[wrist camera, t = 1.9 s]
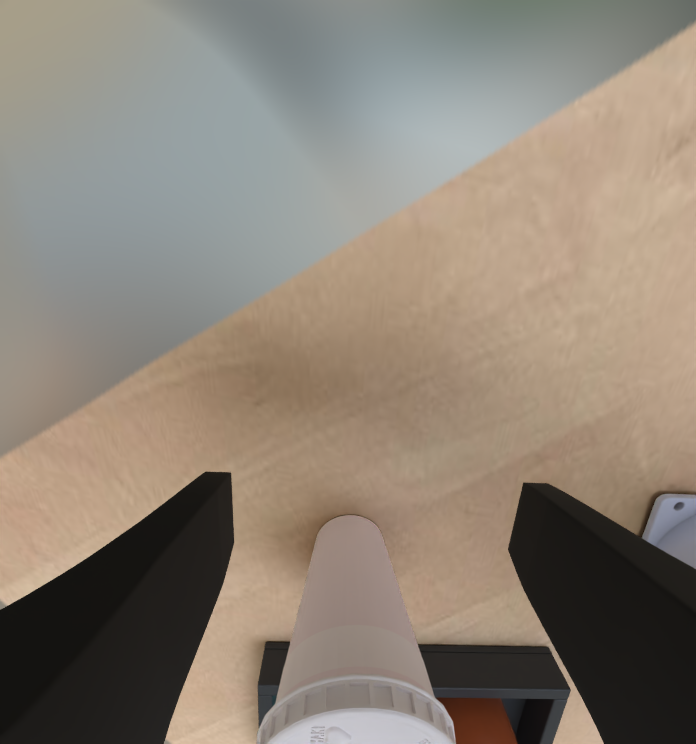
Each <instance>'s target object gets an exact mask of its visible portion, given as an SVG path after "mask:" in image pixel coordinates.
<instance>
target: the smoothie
mask: <svg viewBox="0 0 696 744" xmlns="http://www.w3.org/2000/svg"><path fill="white" fill-rule="evenodd" d="M455 740H456V739H455V732H454V725H453V721H452V719H451V717H450V716H449V714H448V712H447V711H446V709H445V707H444V705H443V704H442V703H440V702H439V701H438V700H437V699H436V698H435V696H434V693H433V690H432V687H431V684H430V680H429V677H428V674H427V671H426V667H425V664H424V661H423V659H422V656H421V653H420V650H419V647H418V644H417V641H416V637H415V634H414V631H413V628H412V625H411V622H410V619H409V616H408V613H407V610H406V607H405V604H404V601H403V598H402V594H401V591H400V588H399V585H398V582H397V579H396V576H395V573H394V570H393V567H392V564H391V561H390V558H389V555H388V551H387V548H386V545H385V542H384V539H383V536H382V533H381V531H380V529H379V528H378V527H377V526H376V525H375V524H374V523H373V522H372V521H370V520H368V519H366V518H364V517H361V516H356V515H345V516H340V517H337V518H334V519H332V520H330V521H328V522H327V523H326V524H325V525H324V526H323V527H322V528H321V529H320V531H319V532H318V534H317V537H316V541H315V545H314V549H313V553H312V557H311V561H310V565H309V569H308V573H307V577H306V581H305V585H304V589H303V594H302V598H301V602H300V606H299V610H298V614H297V618H296V622H295V626H294V630H293V634H292V638H291V642H290V646H289V650H288V654H287V658H286V662H285V665H284V668H283V672H282V677H281V681H280V685H279V689H278V694H277V698H276V702H275V705H274V706H273V707H272V708H271V709H270V710H269V711H268V712H267V713H266V715H265V716H264V718H263V721H262V723H261V725H260V728H259V730H258V732H257V744H456V741H455Z"/></svg>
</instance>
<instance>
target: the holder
mask: <svg viewBox="0 0 696 744" xmlns="http://www.w3.org/2000/svg"><path fill="white" fill-rule="evenodd" d="M289 646H290V643H283V642H266V644H265V650H264V655H263V660H262V665H261V671H260V676H259V681H258V713H259V728H260V725H261V723H262V721H263V718H264V716H265V715H266V713H267V712H268V711H269V710H270V709H271V708H272V707H273V706H274V705H275V702H276V698H277V694H278V689H279V685H280V681H281V677H282V672H283V668H284V665H285V662H286V658H287V654H288V650H289ZM418 647H419V650H420V653H421V656H422V659H423V661H424V664H425V667H426V671H427V674H428V677H429V680H430V684H431V687H432V690H433V693H434V696H435V698H502V700H503V703H504V706H505V708H506V711H507V714H508V717H509V719H510V722H511V725H512V728H513V730H514V733H515V736H516V738H517V741H518V744H552V743H553V741H554V738H555V735H556V732H557V729H558V726H559V723H560V720H561V717H562V714H563V711H564V708H565V705H566V702H567V699H568V697H569V694H570V691H571V690H570V687H569V685H568V684H567V682H566V680H565V678H564V676H563V674H562V672H561V670H560V668H559V667H558V665H557V663H556V661H555V659H554V657H553V655H552V653H551V651H550V649H549V648H548V647H501V646H446V645H418Z"/></svg>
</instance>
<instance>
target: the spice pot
mask: <svg viewBox="0 0 696 744" xmlns="http://www.w3.org/2000/svg"><path fill="white" fill-rule="evenodd" d="M436 699H437V700H438V701H439V702H440V703H442V704H443V705H444V707H445V709H446V711H447V712H448V714H449V716H450V717H451V719H452V721H453V725H454V732H455V739H456V740H455V741H456V744H518V741H517V738H516V736H515V733H514V730H513V728H512V725H511V722H510V719H509V717H508V714H507V711H506V708H505V706H504V703H503V700H502V698H436Z"/></svg>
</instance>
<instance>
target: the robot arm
mask: <svg viewBox="0 0 696 744" xmlns="http://www.w3.org/2000/svg"><path fill="white" fill-rule="evenodd" d="M233 544H234V528H233V505H232V482H231V473H228V472H205V473H203V474H202V475H200V476H199V477H198V478H196V479H195V480H194V481H192V482H191V483H190V484H188V485H187V486H186V487H185V488H183V489H182V490H181V491H179V492H178V493H177V494H176V495H174V496H173V497H172V498H170V499H169V500H168V501H167V502H165V503H164V504H163V505H161V506H160V507H159V508H157V509H156V510H155V511H153V512H152V513H151V514H149V515H148V516H147V517H145V518H144V519H143V520H141V521H140V522H139V523H137V524H136V525H134V526H133V527H132V528H130V529H129V530H127V531H126V532H124V533H123V534H121V535H120V536H119V537H117V538H116V539H114V540H113V541H111V542H110V543H109V544H107V545H106V546H104V547H103V548H101V549H100V550H98V551H97V552H96V553H94V554H93V555H91V556H90V557H88V558H87V559H85V560H84V561H82V562H80V563H79V564H77V565H76V566H74V567H73V568H71V569H69V570H68V571H66V572H65V573H63V574H61V575H60V576H58V577H56V578H55V579H53V580H51V581H50V582H48V583H46V584H45V585H43V586H41V587H40V588H38V589H36V590H35V591H33V592H31V593H30V594H28V595H26V596H25V597H23V598H21V599H19V600H17V601H16V602H14V603H12V604H10V605H9V606H7V607H5V608H3V609H1V610H0V744H164V741H165V737H166V734H167V731H168V728H169V724H170V721H171V719H172V716H173V713H174V710H175V707H176V704H177V702H178V699H179V696H180V693H181V691H182V688H183V686H184V683H185V680H186V678H187V675H188V673H189V670H190V668H191V665H192V663H193V660H194V658H195V655H196V652H197V650H198V647H199V645H200V642H201V640H202V637H203V635H204V632H205V630H206V627H207V624H208V622H209V619H210V617H211V614H212V612H213V609H214V606H215V604H216V601H217V599H218V596H219V593H220V591H221V588H222V585H223V582H224V579H225V575H226V571H227V568H228V564H229V560H230V556H231V552H232V548H233ZM508 551H509V553H510V556H511V559H512V561H513V564H514V567H515V569H516V572H517V574H518V577H519V579H520V582H521V584H522V586H523V589H524V591H525V593H526V595H527V597H528V599H529V601H530V603H531V605H532V607H533V608H534V610H535V612H536V614H537V616H538V618H539V620H540V622H541V623H542V625H543V627H544V629H545V631H546V633H547V635H548V636H549V638H550V640H551V642H552V644H553V646H554V647H555V649H556V651H557V653H558V655H559V657H560V658H561V660H562V662H563V664H564V666H565V668H566V669H567V671H568V673H569V675H570V677H571V679H572V680H573V682H574V684H575V686H576V688H577V690H578V691H579V693H580V695H581V697H582V699H583V701H584V703H585V705H586V707H587V709H588V711H589V713H590V715H591V717H592V719H593V721H594V723H595V725H596V727H597V729H598V731H599V733H600V736H601V738H602V740H603V742H604V744H696V495H690V494H662V495H660V496H659V497H658V498H657V499H656V500H655V503H654V506H653V508H652V511H651V514H650V517H649V519H648V522H647V525H646V528H645V531H644V533H643V536H642V538H641V537H639V536H637V535H635V534H634V533H632V532H630V531H629V530H627V529H625V528H624V527H622V526H620V525H619V524H617V523H615V522H614V521H612V520H611V519H609V518H607V517H606V516H604V515H602V514H601V513H599V512H597V511H596V510H594V509H592V508H591V507H589V506H587V505H586V504H584V503H582V502H581V501H579V500H577V499H575V498H574V497H572V496H570V495H569V494H567V493H565V492H563V491H561V490H559V489H558V488H556V487H554V486H552V485H550V484H547V483H523V487H522V491H521V496H520V500H519V504H518V508H517V513H516V517H515V521H514V526H513V530H512V534H511V539H510V543H509V547H508Z"/></svg>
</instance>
